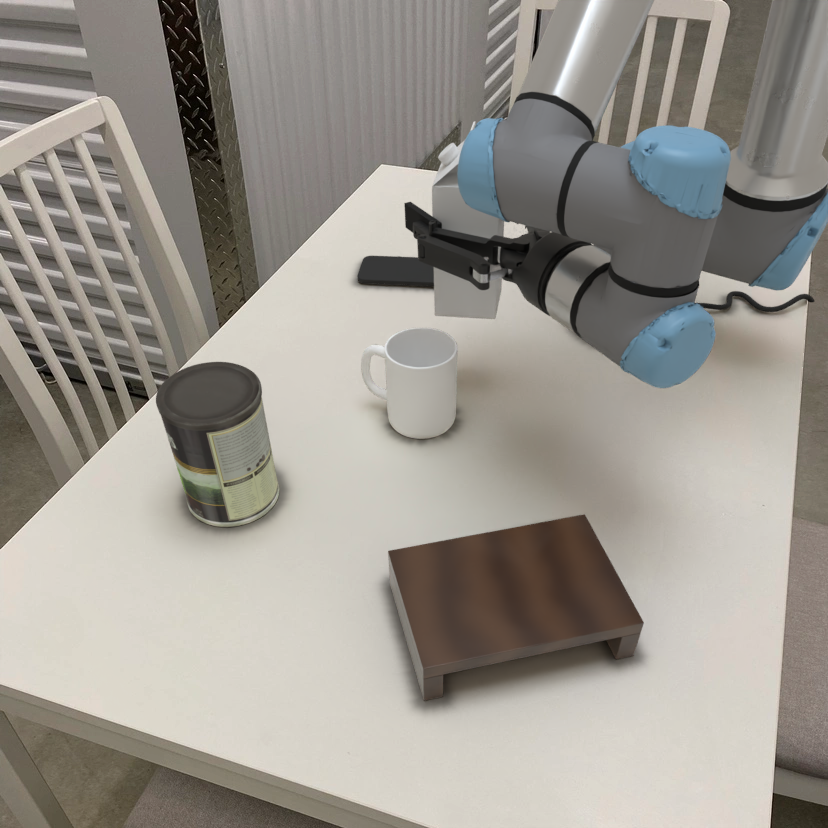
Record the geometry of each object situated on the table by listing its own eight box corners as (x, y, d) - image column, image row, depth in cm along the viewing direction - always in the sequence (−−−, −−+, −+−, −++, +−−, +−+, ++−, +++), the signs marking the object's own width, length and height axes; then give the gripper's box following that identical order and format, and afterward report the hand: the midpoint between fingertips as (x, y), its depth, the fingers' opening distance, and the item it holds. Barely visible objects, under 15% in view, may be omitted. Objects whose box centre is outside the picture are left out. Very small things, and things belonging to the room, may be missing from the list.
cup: (439, 447, 96) (440, 375, 88) (348, 422, 99) (342, 350, 92) (466, 407, 101) (468, 336, 93) (378, 385, 104) (374, 314, 97)
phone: (364, 254, 126) (461, 258, 124) (364, 259, 126) (461, 263, 125) (355, 279, 121) (457, 283, 119) (356, 284, 121) (457, 288, 120)
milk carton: (501, 290, 99) (508, 121, 85) (495, 321, 94) (501, 147, 80) (443, 287, 100) (441, 120, 86) (434, 317, 95) (430, 145, 81)
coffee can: (182, 531, 87) (148, 427, 77) (192, 467, 94) (162, 364, 84) (279, 524, 88) (258, 420, 77) (281, 461, 95) (263, 357, 84)
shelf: (578, 548, 85) (584, 513, 81) (633, 655, 75) (644, 622, 72) (389, 584, 82) (387, 550, 78) (423, 701, 72) (423, 669, 69)
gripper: (474, 352, 77) (363, 261, 91) (655, 286, 85) (527, 210, 98) (475, 278, 72) (357, 193, 85) (669, 214, 79) (531, 145, 93)
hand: (448, 202), depth 92 cm, fingers closed on milk carton, 10 cm apart
